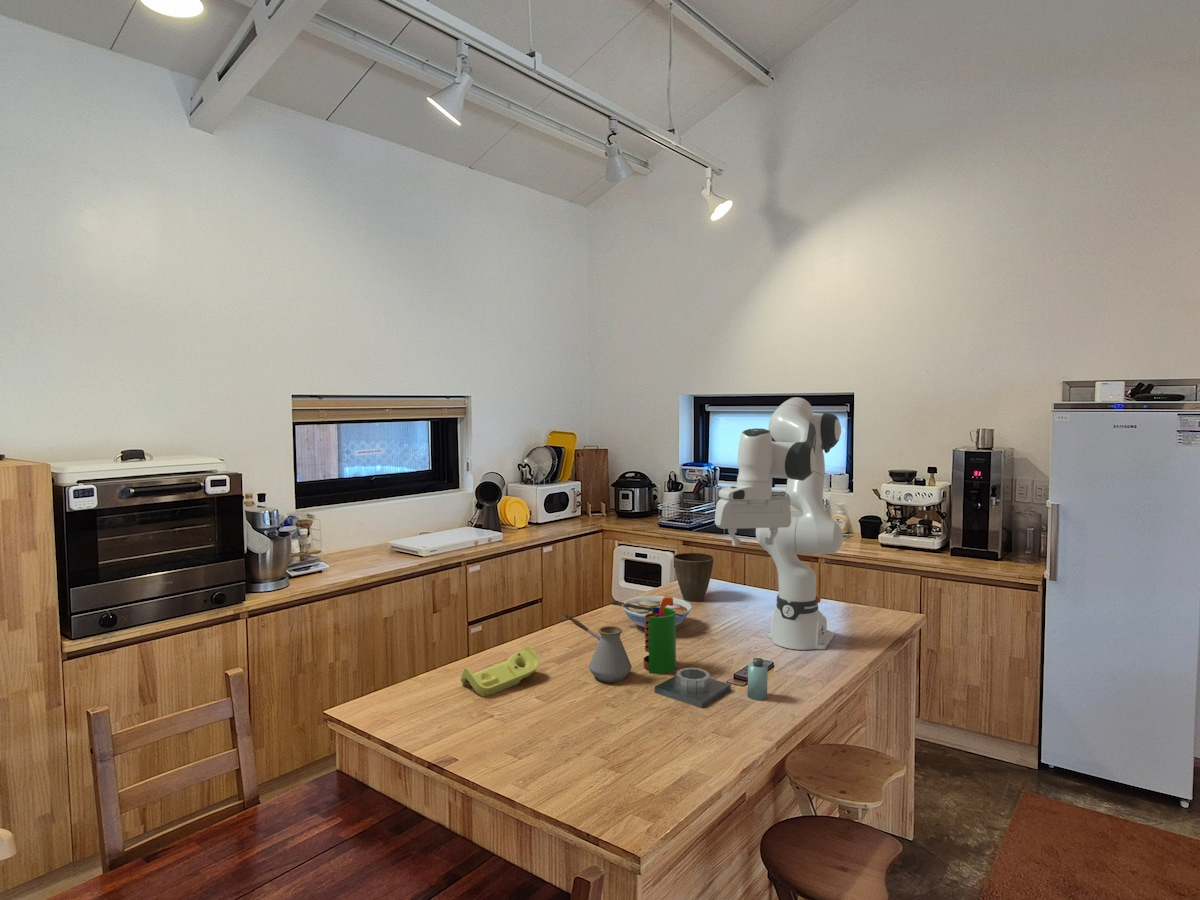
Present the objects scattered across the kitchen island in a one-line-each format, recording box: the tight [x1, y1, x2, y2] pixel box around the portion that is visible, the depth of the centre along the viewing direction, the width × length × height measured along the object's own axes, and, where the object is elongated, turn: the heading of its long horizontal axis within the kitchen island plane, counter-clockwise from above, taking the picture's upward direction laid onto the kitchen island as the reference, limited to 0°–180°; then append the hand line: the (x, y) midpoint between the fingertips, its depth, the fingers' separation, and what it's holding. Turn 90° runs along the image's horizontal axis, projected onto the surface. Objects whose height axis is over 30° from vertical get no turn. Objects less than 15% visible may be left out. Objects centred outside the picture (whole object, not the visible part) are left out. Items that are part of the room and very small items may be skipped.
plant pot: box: [673, 552, 715, 603], centre depth 267 cm, size 15×15×16 cm
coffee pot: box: [560, 612, 632, 683], centre depth 194 cm, size 21×12×15 cm, turn 58°
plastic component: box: [460, 645, 541, 697], centre depth 188 cm, size 20×7×10 cm
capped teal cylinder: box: [747, 657, 769, 701], centre depth 180 cm, size 5×5×10 cm
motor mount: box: [654, 667, 732, 709], centre depth 183 cm, size 14×14×4 cm
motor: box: [643, 595, 677, 675], centre depth 198 cm, size 10×9×20 cm
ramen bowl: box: [611, 595, 692, 628], centre depth 234 cm, size 25×23×8 cm
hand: (752, 545), depth 185 cm, fingers open, 8 cm apart
